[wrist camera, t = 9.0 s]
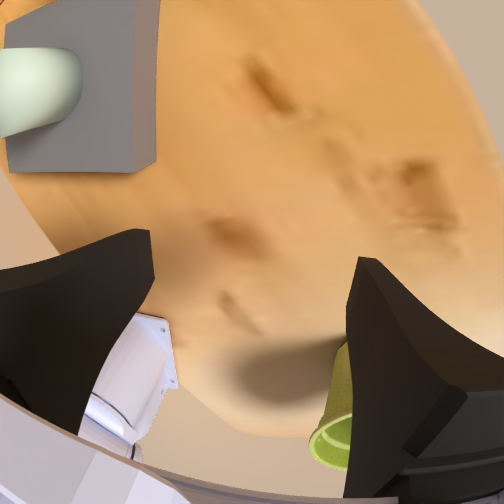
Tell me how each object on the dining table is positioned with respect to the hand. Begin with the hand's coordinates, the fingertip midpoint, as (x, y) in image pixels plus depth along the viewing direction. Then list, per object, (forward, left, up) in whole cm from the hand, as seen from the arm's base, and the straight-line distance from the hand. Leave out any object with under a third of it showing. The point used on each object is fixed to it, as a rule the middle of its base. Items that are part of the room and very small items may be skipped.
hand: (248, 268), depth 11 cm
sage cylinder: (+7, +14, -7) cm, 17 cm away
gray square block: (+7, +14, -10) cm, 19 cm away
